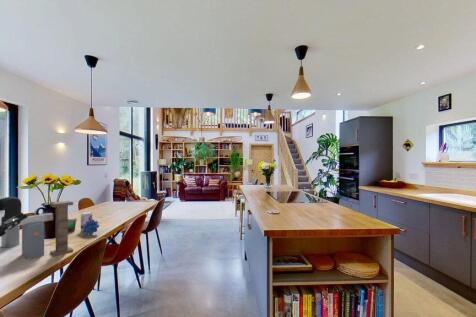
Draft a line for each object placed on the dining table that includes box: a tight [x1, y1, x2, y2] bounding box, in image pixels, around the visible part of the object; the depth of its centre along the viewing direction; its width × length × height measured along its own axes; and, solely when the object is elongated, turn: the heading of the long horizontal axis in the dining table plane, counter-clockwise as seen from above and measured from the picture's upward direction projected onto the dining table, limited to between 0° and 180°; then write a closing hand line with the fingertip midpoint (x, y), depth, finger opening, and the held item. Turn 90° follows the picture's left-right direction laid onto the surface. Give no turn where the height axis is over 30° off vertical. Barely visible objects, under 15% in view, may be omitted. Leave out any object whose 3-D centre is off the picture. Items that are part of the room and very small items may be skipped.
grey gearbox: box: [21, 221, 45, 260], centre depth 153 cm, size 13×8×20 cm, turn 54°
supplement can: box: [80, 211, 93, 233], centre depth 203 cm, size 8×8×15 cm
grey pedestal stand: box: [49, 200, 74, 257], centre depth 157 cm, size 8×10×32 cm
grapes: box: [81, 219, 100, 236], centre depth 194 cm, size 12×7×12 cm, turn 110°
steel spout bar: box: [10, 212, 54, 227], centre depth 153 cm, size 4×20×4 cm, turn 144°
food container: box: [68, 218, 78, 233], centre depth 202 cm, size 12×6×10 cm, turn 105°
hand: (24, 214), depth 150 cm, fingers open, 6 cm apart
